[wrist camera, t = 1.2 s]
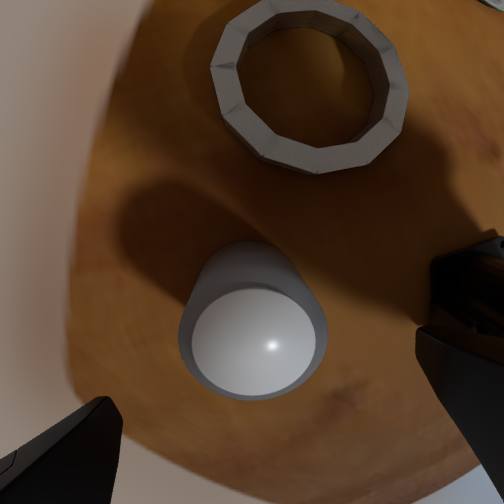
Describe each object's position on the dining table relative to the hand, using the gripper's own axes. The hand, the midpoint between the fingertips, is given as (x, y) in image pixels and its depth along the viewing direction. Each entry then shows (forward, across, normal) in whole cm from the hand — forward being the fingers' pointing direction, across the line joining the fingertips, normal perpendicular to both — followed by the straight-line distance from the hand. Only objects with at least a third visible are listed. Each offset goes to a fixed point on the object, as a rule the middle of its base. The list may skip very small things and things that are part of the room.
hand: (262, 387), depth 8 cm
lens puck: (+7, 0, 0) cm, 7 cm away
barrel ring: (+7, -5, -9) cm, 13 cm away
